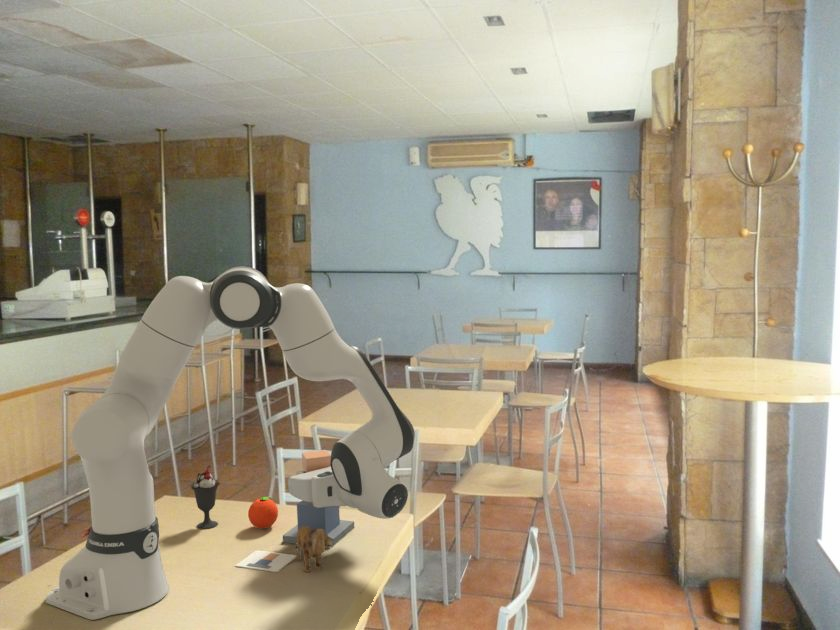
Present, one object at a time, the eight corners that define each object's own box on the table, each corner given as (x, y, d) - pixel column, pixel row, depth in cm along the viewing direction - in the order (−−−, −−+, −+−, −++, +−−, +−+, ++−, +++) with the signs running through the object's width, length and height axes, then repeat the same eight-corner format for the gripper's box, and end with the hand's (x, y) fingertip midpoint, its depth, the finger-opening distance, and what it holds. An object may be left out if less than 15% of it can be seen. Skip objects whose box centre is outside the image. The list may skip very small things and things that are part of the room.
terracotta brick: (308, 498, 158) (306, 458, 158) (303, 491, 164) (301, 452, 163) (332, 494, 160) (331, 455, 159) (327, 487, 165) (326, 449, 165)
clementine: (260, 519, 173) (258, 491, 173) (285, 521, 172) (284, 492, 171) (243, 531, 166) (241, 502, 165) (270, 534, 164) (268, 504, 163)
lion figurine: (336, 572, 143) (335, 529, 142) (312, 580, 140) (310, 535, 139) (306, 547, 155) (305, 507, 154) (283, 553, 152) (281, 512, 151)
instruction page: (235, 566, 147) (235, 565, 147) (256, 551, 154) (256, 549, 154) (277, 572, 143) (277, 570, 143) (297, 556, 151) (297, 554, 151)
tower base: (282, 541, 159) (281, 507, 158) (308, 522, 170) (307, 490, 170) (331, 547, 155) (329, 512, 154) (354, 527, 166) (353, 494, 166)
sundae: (217, 530, 167) (214, 467, 166) (189, 530, 167) (185, 468, 166) (225, 519, 174) (222, 459, 173) (198, 520, 174) (194, 460, 173)
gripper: (387, 459, 158) (351, 447, 169) (308, 480, 145) (275, 466, 155) (388, 486, 159) (352, 473, 169) (310, 510, 145) (276, 494, 156)
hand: (314, 470), depth 162 cm, fingers closed on terracotta brick, 7 cm apart
